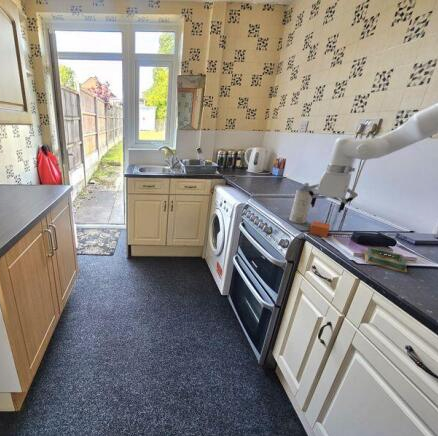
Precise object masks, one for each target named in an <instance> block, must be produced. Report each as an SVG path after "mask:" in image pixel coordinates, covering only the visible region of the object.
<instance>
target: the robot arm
mask: <svg viewBox="0 0 438 436" xmlns="http://www.w3.org/2000/svg"><path fill="white" fill-rule="evenodd" d="M437 134H438V102H437V103H434V104H432V105H430V106H428V107H426V108H424V109H422V110H419V111H418V112H415V113H414V114H412V115H411V116H410V117H409V118H408V119H407V121H406V122H405V123H403V124H402V125H400V126H398V127H396V128H395V129H393V130H391V131H389V132H387V133H384V134H382V135H380V136H378V137H371V138H370V137H369V138H357V137H349V136H348V137H347V136H341V137H340V136H339V137H337V138H336V139H335V142H334V143H333V148H332V150H331V154H330V157H329V161H328V164H327V168H326V170H324V171H323V173H322V175H321V176H320V179H319V182H318V183H317V184H312V185H309V186H308V191H309V194H310V195H311V197H312V198H311V202H310V206H311V208H314V207H315V204H316V202H317V197H319V196H324V197H330V198H335V199H340V200H341V202H340V205H339V208H338V212H337V213H341V211H344V210H345V206H346V204H348V203H350V202H352V201H354V200H355V199H356V198H357V197H358V196H359V194H358V193H357V192H356V191H354V190H353V189H351V188H349V187H350V183H351V177H352V172H355V171H356V167H353V163H354V160H355V159H357V160H364V161H367V160H373V159H379V158H382V157H385V156H387V155H390V154H392V153H395V152H398V151H400V150H402V149H405V148H407V147H409V146H411V145H414V144H416V143H418V142H421V141H424V140H426V139H428V138H430V137H433V136H435V135H437ZM314 189H316V192H315V193H314ZM312 190H313V191H312ZM347 194H349V195H351V196H349V197H347V198H346V196H347Z"/></svg>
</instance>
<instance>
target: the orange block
mask: <svg viewBox="0 0 438 436" xmlns="http://www.w3.org/2000/svg"><path fill="white" fill-rule="evenodd" d="M330 228H331V224H330V223H325V222H321V221H315V220H313V221H312V223H311V226H310V229H309V234H311V235H315V236H319V237H324V238H327V237H328V235H329V231H330Z"/></svg>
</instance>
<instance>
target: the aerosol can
mask: <svg viewBox="0 0 438 436" xmlns="http://www.w3.org/2000/svg"><path fill="white" fill-rule="evenodd" d="M308 186H310V182H304V184H303V185H301V186H300V187H297V189H296V192H295V196H294V200H293V204H292V208H291V212H290V216H289V218H288V219H289V221H290V222H291V223H294V224H300V225H301V224H305V223H306V221H307V216H308V213H309V208H310V207H311V201H312V197H311V195H310V194H309V191H308ZM312 191H313V192H314V189H312Z"/></svg>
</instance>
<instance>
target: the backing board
mask: <svg viewBox="0 0 438 436" xmlns="http://www.w3.org/2000/svg"><path fill="white" fill-rule="evenodd" d="M363 251H364V260H365V261H364V262H365V263H366V264H371V265H375V266H379V267H381V268H385V269H389V270H393V271H398V272H400V273H401V272H402V273H405V274H407V273H408V270H407V263H406V260H405V258H404V255H403V254H402V253H401V254H400V253H396V252H391V251H387V250H383V249H380V248H376V247H375V248H374V247H370V246H368V248H367V250H366V249H365V250H363ZM380 253H381V254H380ZM384 254H387V255H384ZM388 255H391V256H388ZM392 256H394V257H392Z"/></svg>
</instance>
